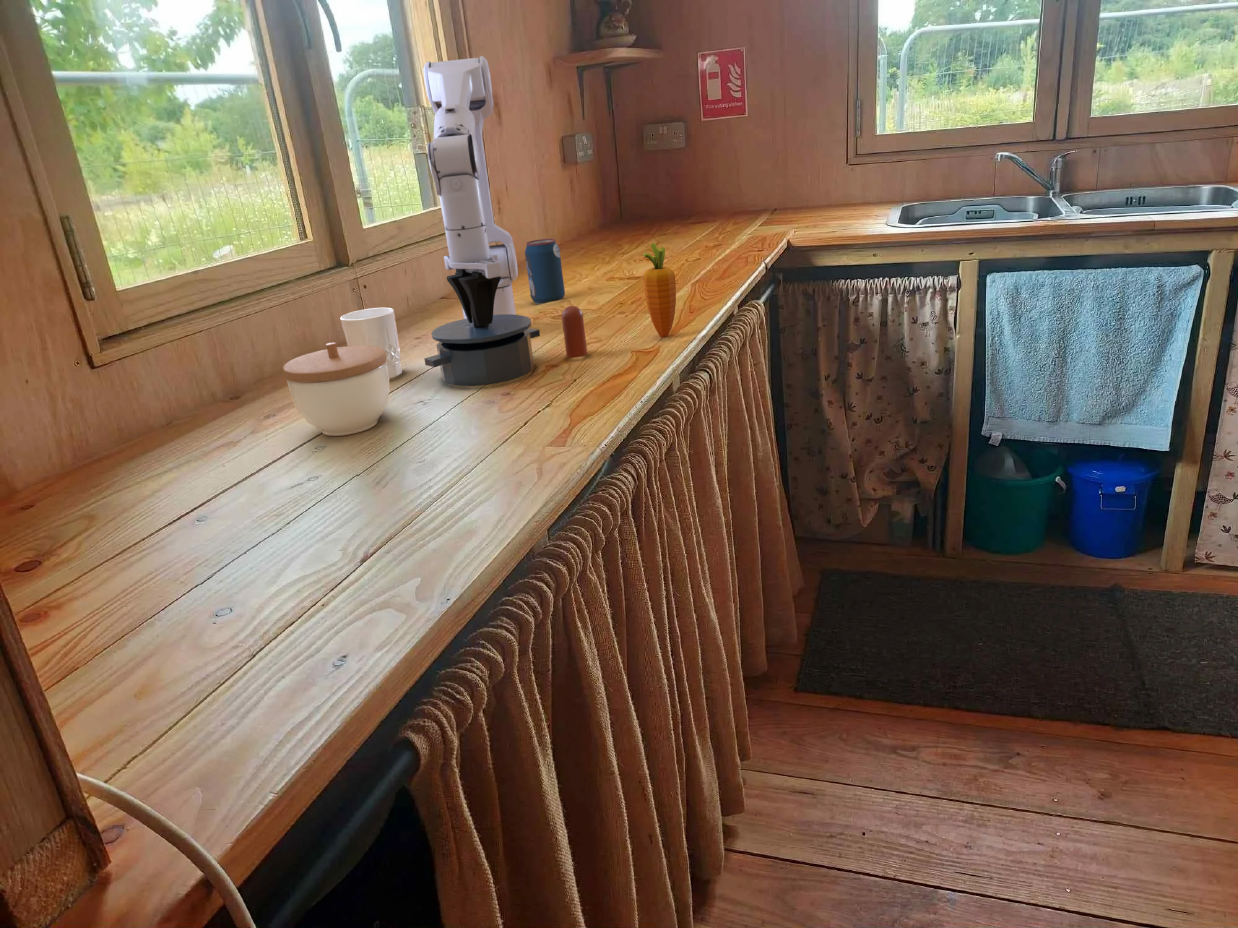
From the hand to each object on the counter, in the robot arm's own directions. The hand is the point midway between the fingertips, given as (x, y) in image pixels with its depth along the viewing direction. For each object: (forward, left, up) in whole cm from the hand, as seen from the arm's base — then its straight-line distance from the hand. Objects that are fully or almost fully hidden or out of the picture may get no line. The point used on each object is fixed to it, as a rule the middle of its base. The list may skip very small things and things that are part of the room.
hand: (480, 323), depth 127 cm
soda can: (-34, +38, -8) cm, 52 cm away
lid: (0, 0, -1) cm, 1 cm away
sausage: (+5, +13, -8) cm, 16 cm away
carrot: (+10, +27, -8) cm, 30 cm away
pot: (0, 0, -8) cm, 8 cm away
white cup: (-15, -10, -8) cm, 20 cm away
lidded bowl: (+3, -24, -8) cm, 25 cm away
